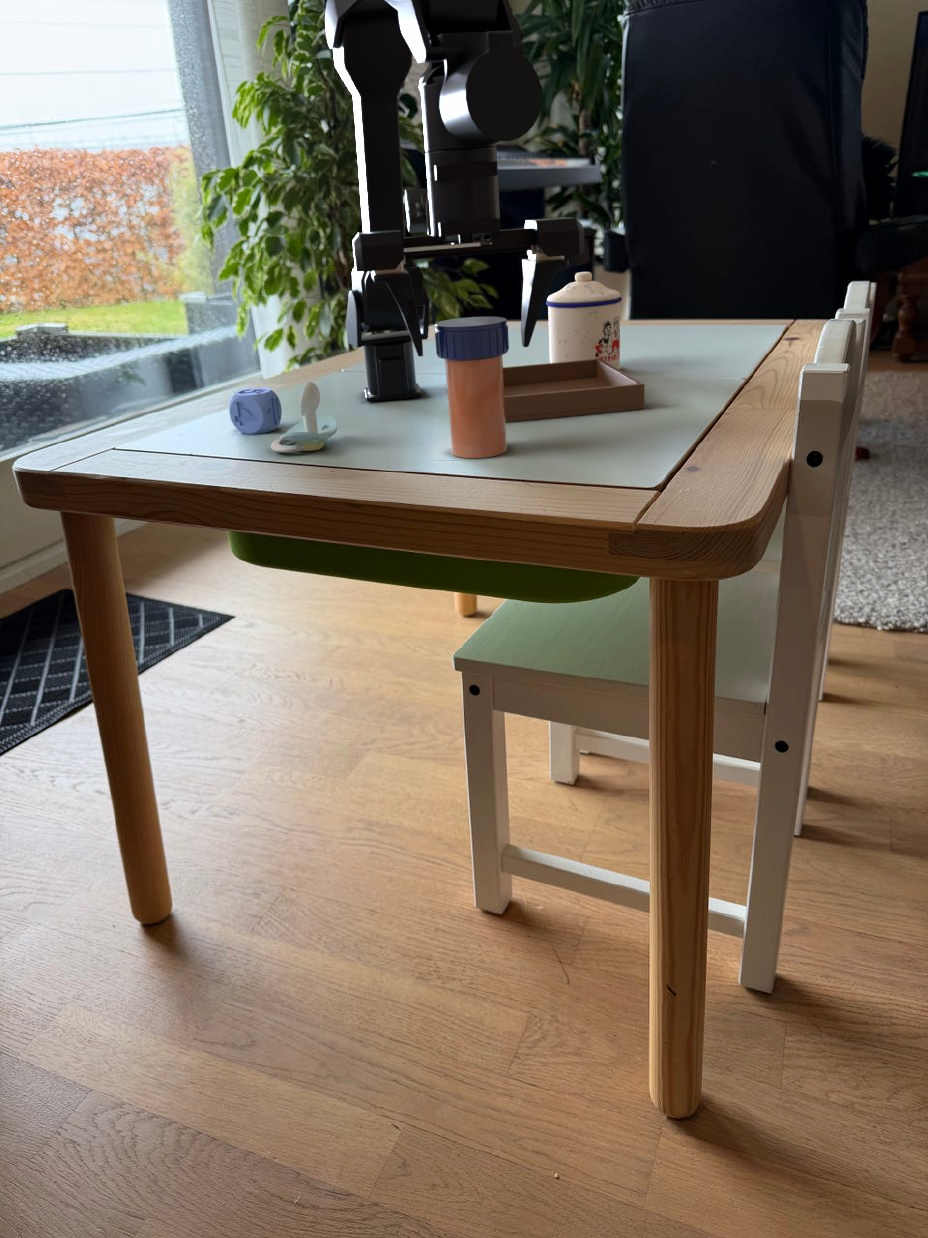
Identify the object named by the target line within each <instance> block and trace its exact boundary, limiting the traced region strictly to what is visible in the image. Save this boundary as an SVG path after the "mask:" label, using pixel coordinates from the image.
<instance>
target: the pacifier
mask: <svg viewBox="0 0 928 1238" xmlns="http://www.w3.org/2000/svg"><path fill="white" fill-rule="evenodd" d="M320 402H321V393H320V390H319V387H318V386H317V384H316V383H314V382H312V381H310V380H309V381H306V383H305V384H304V386H303V389H302V393H301V396H300V406H299V407H300V415H301V416H302V420H301V421H299V422H297V423H296V424H295V425H293V426H292V427H291V428H289V429H288V430H287V431H285V432H284V433H283V434H281V435H280V436H279V438H277V439H276V440H274V441H273V442H272V443H271V445H270V448H271V450H272V451H274V452H276V453H283V454H286V453H295V452H311V451H318V450H320V449H322V448H323V447H324V446H325V441H327V440H328V439H329V438H331V437H333V436H334V435H335V434H336V433H337V431H338V422H337V420H336V419H335V417H333V416H332V415H328V414H317V413H316V411H317V409H318V408H319V406H320ZM292 442H295V444H289V445H288V443H292Z"/></svg>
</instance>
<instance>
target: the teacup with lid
mask: <svg viewBox="0 0 928 1238" xmlns="http://www.w3.org/2000/svg"><path fill="white" fill-rule="evenodd" d="M574 280H575V281H573V282H569V283H568V284H566V285H565V286H564V287H563V288H561V289H560V290H558V291H556V292H554V293H551V294H550V295H548V297H547V299H546V302H545V304H546V306H547V308H548V309H547V311H548V312H547V314H548V316H547V317H548V345H549V346H548V347H549V348H548V349H549V363H558V362H569V361H580V360H591V359H602V360H604V361H605V362H607V363H609V364H610V365H612V366H614V367H616V368H617V369H619V370H620V368H621V302H622V300H623V297H622V294H621V293H620V291H618V290H616V289H612V288H610V287H607V286H605V285H604V284H602V283H601V282H600V281H598V280H597V281H596V280H593V274H592V272H590V271H580V272H576V273H575V274H574Z"/></svg>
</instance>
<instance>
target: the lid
mask: <svg viewBox="0 0 928 1238" xmlns="http://www.w3.org/2000/svg"><path fill="white" fill-rule="evenodd" d="M434 326H435V327H434V328H435V330H434V338H435V339H434V340H435V351H436V352H435V353H436V356H437V357H438V358H439V359H443V360H445V359H449V360H472V359H483V358H490V357H496V356H500V355H502V356H503V355H505V354H508V352H509V350H510V343H509V341H510V339H509V326H508V320H507V318H506V317H501V316H471V317H458V318H450V319H445V320H441V321H438V322H436V323H435V324H434Z"/></svg>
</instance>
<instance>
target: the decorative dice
mask: <svg viewBox="0 0 928 1238" xmlns="http://www.w3.org/2000/svg"><path fill="white" fill-rule="evenodd" d="M228 407H229V408H228V411H229V412H228V413H229V418H230V421H231V423H232V425H233V427H235V429H237V431H238V432H240V433H241V434H245V435H257V434H266V433H269V432H273V431H275V430H277V428H278V427H279V426H280V424H281V421H282V415H283V413H282V412H283V411H282V404H281V401H280V398H279V396H278V395H277V393H276V392H275V391H274V390H273V389H271V388H270V387H269V388H268V387H254V388H245V389H241V390H237V391H235V392H234V393H233V395H232V396H231V398H230V400H229V406H228Z"/></svg>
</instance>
